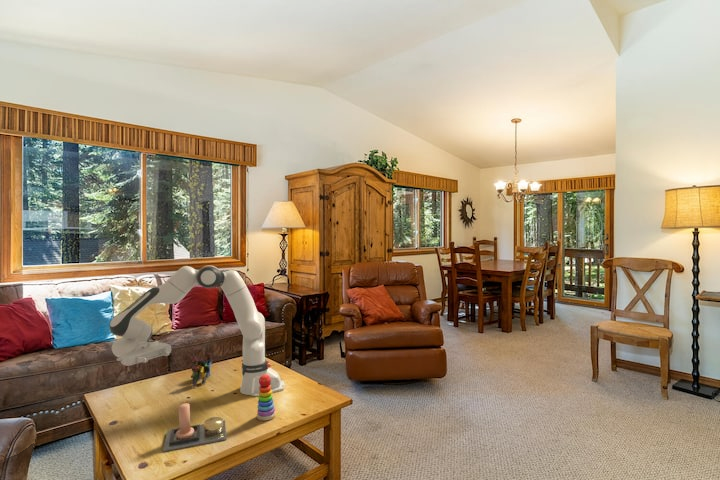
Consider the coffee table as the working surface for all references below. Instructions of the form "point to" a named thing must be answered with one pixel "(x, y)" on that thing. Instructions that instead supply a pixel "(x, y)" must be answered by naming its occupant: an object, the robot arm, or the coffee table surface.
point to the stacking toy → (265, 399)
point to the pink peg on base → (184, 422)
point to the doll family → (201, 371)
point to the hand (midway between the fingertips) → (157, 356)
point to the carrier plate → (197, 435)
